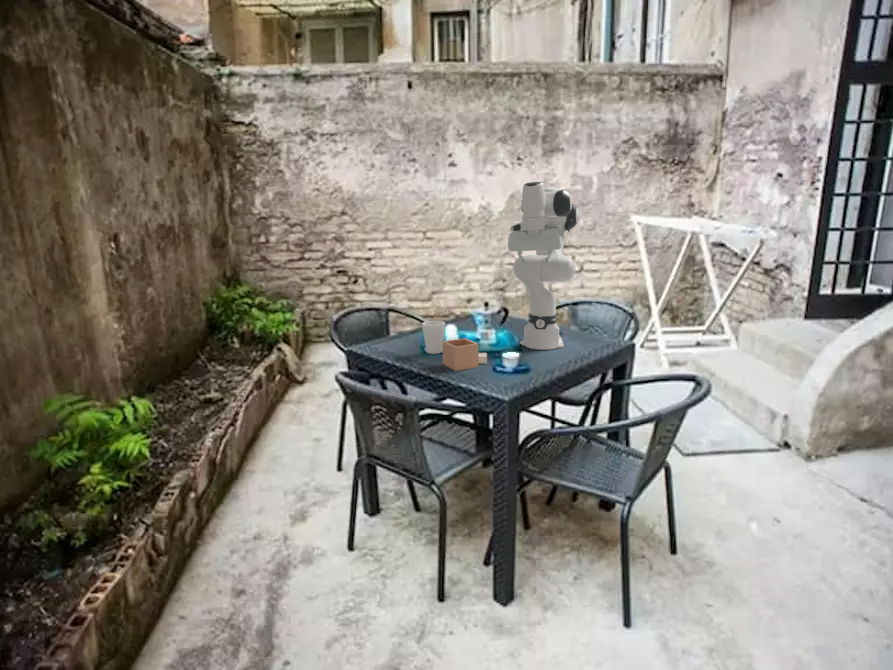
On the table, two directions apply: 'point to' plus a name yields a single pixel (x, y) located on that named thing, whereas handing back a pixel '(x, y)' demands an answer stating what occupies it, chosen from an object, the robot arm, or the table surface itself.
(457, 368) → the planter
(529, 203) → the robot arm
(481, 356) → the limestone block
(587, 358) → the table surface
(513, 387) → the table surface
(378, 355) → the table surface
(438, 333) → the foam cup
